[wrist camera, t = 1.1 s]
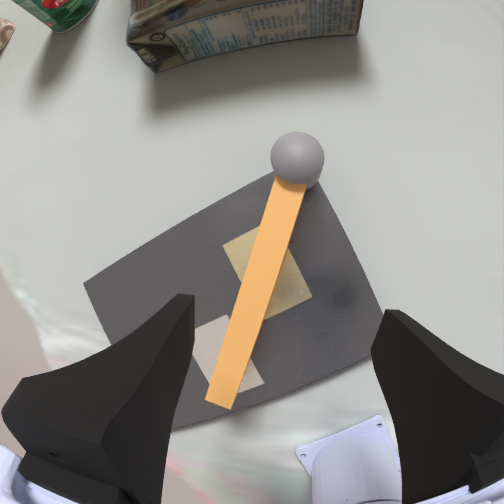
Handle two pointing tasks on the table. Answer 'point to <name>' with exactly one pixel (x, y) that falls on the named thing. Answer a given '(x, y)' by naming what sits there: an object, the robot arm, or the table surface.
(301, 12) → the beverage carton
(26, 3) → the canned tomato
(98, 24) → the table surface
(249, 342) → the swing arm
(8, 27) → the figurine
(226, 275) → the panel
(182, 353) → the robot arm
